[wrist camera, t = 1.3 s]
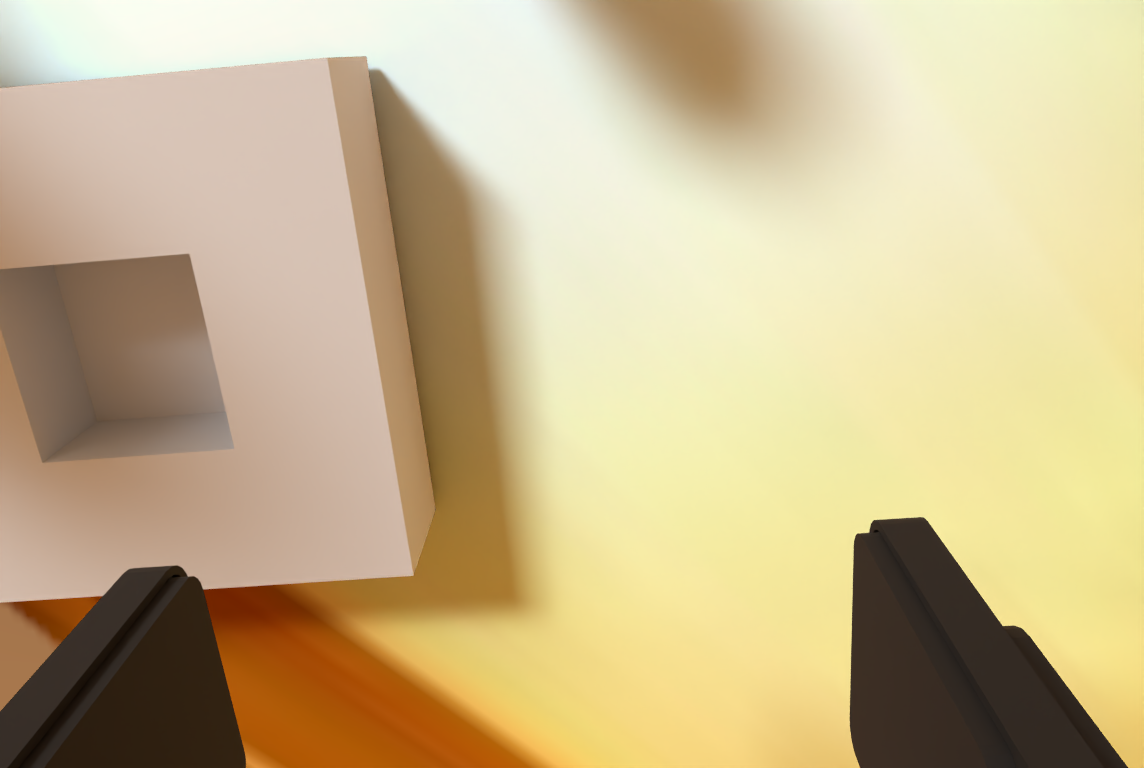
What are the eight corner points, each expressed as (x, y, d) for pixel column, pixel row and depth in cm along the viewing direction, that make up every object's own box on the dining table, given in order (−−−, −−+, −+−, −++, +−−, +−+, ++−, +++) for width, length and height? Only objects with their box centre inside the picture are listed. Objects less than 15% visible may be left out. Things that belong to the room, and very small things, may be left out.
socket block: (366, 56, 25) (327, 57, 22) (435, 509, 30) (413, 575, 26) (-123, 101, 26) (-244, 110, 22) (20, 538, 31) (-59, 606, 27)
